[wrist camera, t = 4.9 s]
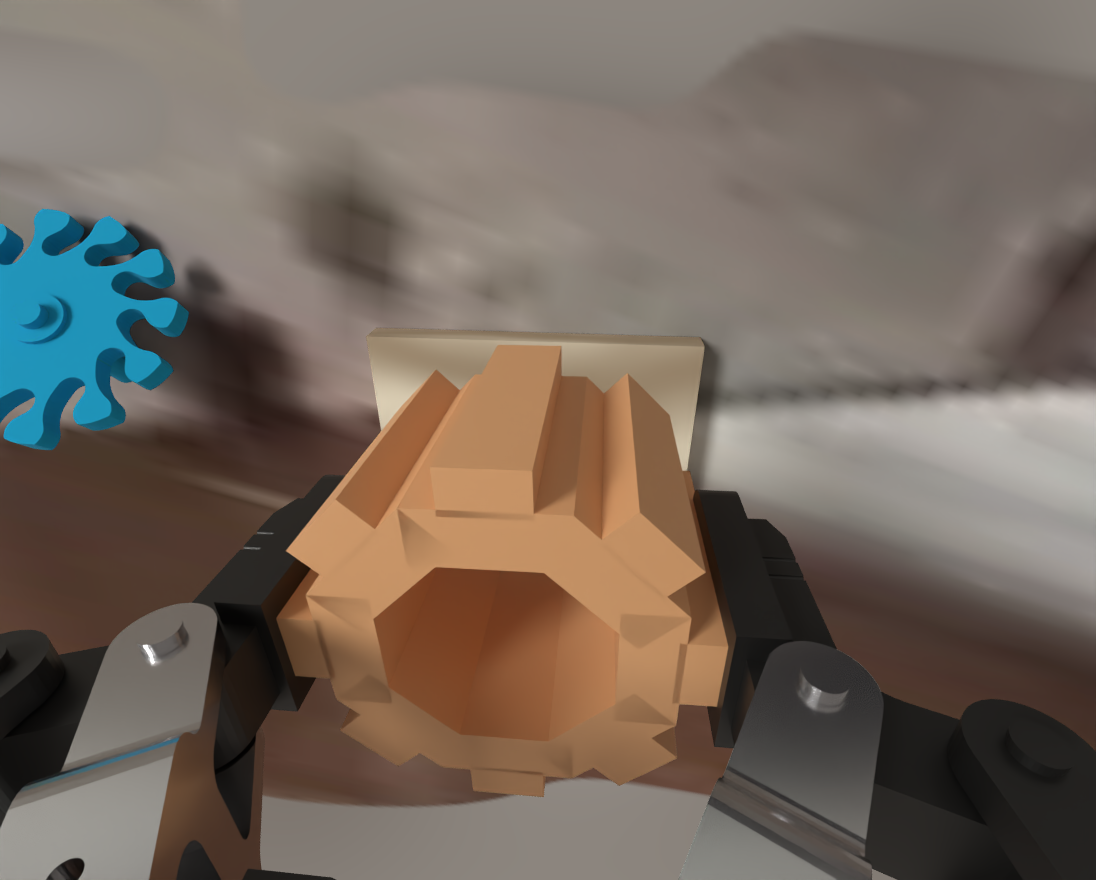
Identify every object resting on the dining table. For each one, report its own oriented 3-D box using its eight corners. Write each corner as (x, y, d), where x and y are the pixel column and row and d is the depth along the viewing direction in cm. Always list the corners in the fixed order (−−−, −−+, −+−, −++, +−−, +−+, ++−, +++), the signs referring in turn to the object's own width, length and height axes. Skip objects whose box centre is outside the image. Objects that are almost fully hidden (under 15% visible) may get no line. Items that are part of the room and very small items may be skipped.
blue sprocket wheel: (220, 260, 22) (57, 486, 19) (278, 329, 27) (159, 511, 25) (-26, 151, 22) (-222, 358, 19) (81, 241, 28) (-59, 411, 25)
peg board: (376, 327, 24) (296, 394, 18) (700, 337, 23) (735, 411, 17) (415, 584, 31) (367, 695, 25) (663, 600, 30) (679, 721, 24)
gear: (364, 343, 11) (218, 459, 7) (704, 347, 10) (767, 478, 6) (408, 593, 14) (326, 777, 10) (672, 609, 13) (701, 811, 9)
